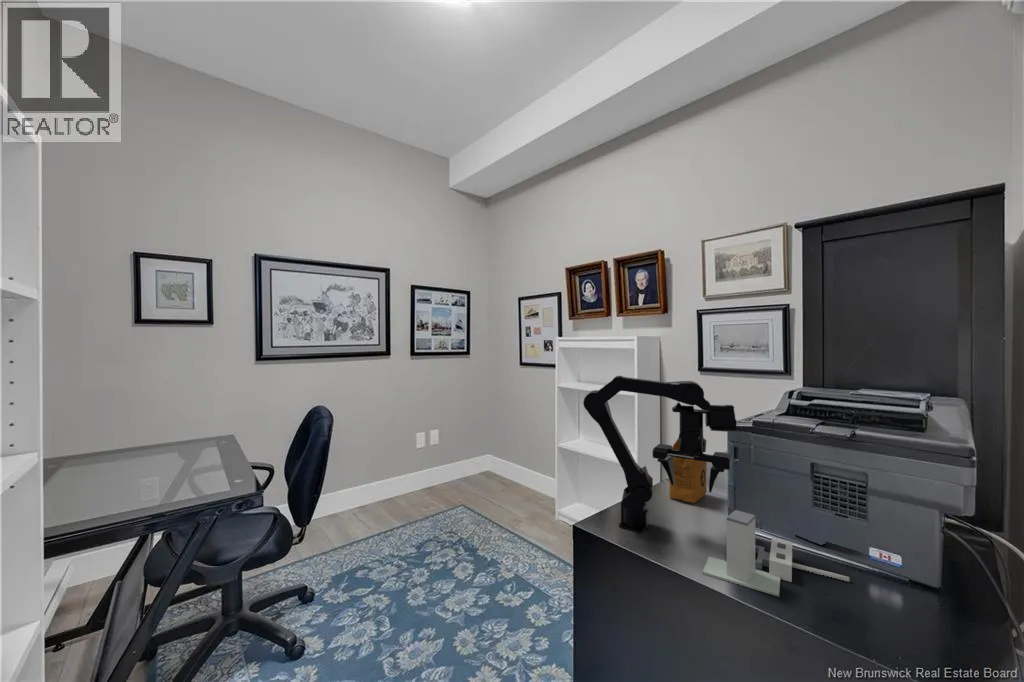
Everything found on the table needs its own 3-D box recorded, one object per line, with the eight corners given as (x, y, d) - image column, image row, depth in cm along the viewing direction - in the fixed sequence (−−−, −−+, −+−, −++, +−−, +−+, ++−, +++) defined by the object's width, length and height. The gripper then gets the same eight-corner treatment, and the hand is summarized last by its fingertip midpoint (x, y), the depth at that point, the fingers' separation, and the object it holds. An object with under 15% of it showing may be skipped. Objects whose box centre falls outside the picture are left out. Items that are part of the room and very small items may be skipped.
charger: (726, 575, 88) (726, 517, 88) (735, 565, 92) (735, 509, 92) (747, 582, 85) (747, 523, 85) (755, 572, 89) (755, 515, 89)
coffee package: (712, 496, 133) (712, 429, 133) (695, 507, 125) (695, 435, 125) (682, 488, 141) (682, 424, 141) (664, 498, 132) (664, 430, 132)
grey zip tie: (725, 563, 94) (725, 547, 94) (732, 542, 104) (732, 527, 104) (852, 599, 81) (852, 580, 81) (846, 570, 91) (846, 554, 91)
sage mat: (702, 573, 90) (702, 571, 90) (708, 558, 96) (708, 556, 96) (779, 596, 82) (779, 594, 82) (780, 578, 88) (780, 576, 88)
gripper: (735, 428, 109) (735, 486, 109) (662, 420, 120) (663, 473, 120) (729, 436, 100) (729, 500, 100) (651, 427, 111) (651, 484, 111)
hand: (691, 488), depth 108 cm, fingers open, 9 cm apart
